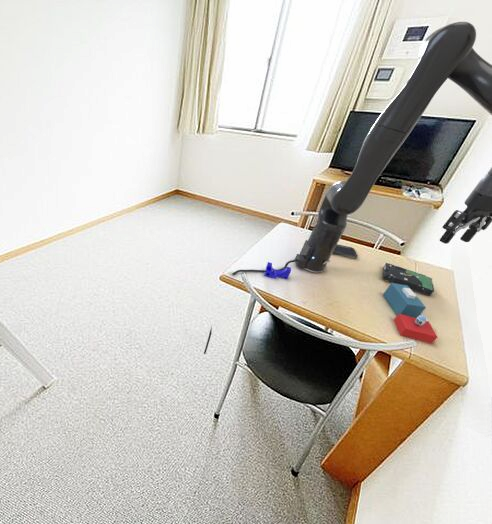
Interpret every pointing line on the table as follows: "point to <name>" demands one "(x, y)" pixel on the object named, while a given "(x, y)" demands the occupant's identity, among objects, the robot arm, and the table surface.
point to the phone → (345, 251)
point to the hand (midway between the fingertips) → (453, 241)
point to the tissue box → (403, 300)
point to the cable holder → (276, 272)
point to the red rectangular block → (415, 328)
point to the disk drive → (408, 279)
